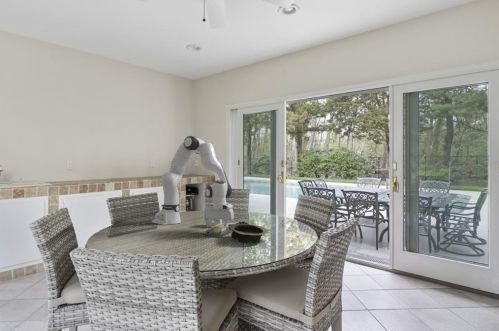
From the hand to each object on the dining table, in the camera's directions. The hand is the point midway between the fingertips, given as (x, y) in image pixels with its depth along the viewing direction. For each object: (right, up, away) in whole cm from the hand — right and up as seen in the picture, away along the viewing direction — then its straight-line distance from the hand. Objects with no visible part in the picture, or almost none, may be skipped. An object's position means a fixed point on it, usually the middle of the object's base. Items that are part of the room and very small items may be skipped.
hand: (219, 225), depth 194 cm
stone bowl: (+19, -6, -15) cm, 25 cm away
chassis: (0, -5, 0) cm, 5 cm away
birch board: (0, -3, 0) cm, 3 cm away
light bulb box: (-6, -4, +19) cm, 20 cm away
